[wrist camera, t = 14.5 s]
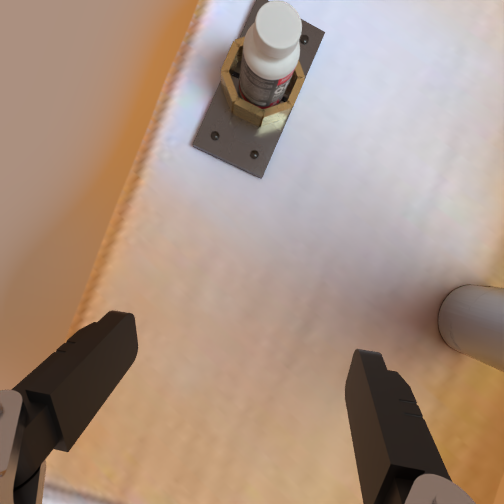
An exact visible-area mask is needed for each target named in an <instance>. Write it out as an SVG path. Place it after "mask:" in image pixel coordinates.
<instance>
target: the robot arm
mask: <svg viewBox="0 0 504 504" xmlns="http://www.w3.org/2000/svg"><path fill="white" fill-rule="evenodd" d="M438 324H439V330H440V333H441V335H442V338H443V339H444V340H445V342H446V343H447V344H448V345H449V346H450V347H451V348H453V349H455V350H456V351H459V352H461V353H463V354H465V355H467V356H470V357H472V358H474V359H476V360H479V361H481V362H483V363H485V364H487V365H489V366H492V367H494V368H496V369H498V370H500V371H503V372H504V288H499V287H484V286H477V285H465V286H462V287H459V288H457V289H455V290H454V291H452V292H451V293H450V294H449V295H448V296H447V297H446V299H445V300H444V302H443V304H442V306H441V308H440V312H439V318H438ZM137 352H138V340H137V332H136V324H135V317H134V315H133V314H132V313H126V312H120V311H110V312H108V313H107V314H106V315H105V316H104V317H103V318H102V319H100V320H99V321H98V322H93V323H91V324H89V325H88V326H86V327H84V328H82V329H80V330H78V331H77V332H76V333H75V334H74V335H73V336H72V337H71V338H69V339H68V340H67V342H66V343H64V344H63V345H62V346H60V347H59V348H58V349H57V351H56V352H54V353H52V354H51V355H50V356H49V357H48V358H47V359H46V360H45V361H43V363H41V364H40V365H39V366H38V367H37V368H36V369H34V370H33V371H32V372H31V373H30V374H29V375H28V376H27V377H25V378H24V379H23V380H22V381H21V382H20V383H19V384H17V385H16V386H15V387H14V388H13V389H12V390H1V391H0V504H42V498H43V489H44V480H45V472H46V460H45V459H46V457H47V456H48V455H49V454H50V452H51V451H52V450H53V449H56V450H61V451H65V452H69V450H70V449H71V448H72V446H73V445H74V444H75V442H76V441H77V439H78V438H79V437H80V435H81V434H82V433H83V431H84V430H85V428H86V427H87V426H88V424H89V423H90V422H91V420H92V419H93V417H94V416H95V415H96V413H97V412H98V411H99V409H100V408H101V406H102V405H103V404H104V402H105V401H106V400H107V398H108V397H109V395H110V394H111V393H112V391H113V390H114V389H115V387H116V386H117V384H118V383H119V382H120V380H121V379H122V378H123V376H124V375H125V373H126V372H127V371H128V369H129V368H130V367H131V365H132V364H133V362H134V360H135V358H136V356H137ZM345 401H346V407H347V412H348V418H349V424H350V429H351V435H352V441H353V446H354V452H355V458H356V464H357V469H358V475H359V481H360V486H361V492H362V498H363V503H364V504H476V503H475V502H474V501H473V500H472V499H471V498H470V496H469V495H468V494H467V493H466V492H465V491H463V490H462V489H461V488H460V487H459V486H457V485H456V484H454V483H453V482H452V480H451V478H450V476H449V474H448V472H447V470H446V468H445V465H444V463H443V461H442V458H441V456H440V454H439V452H438V449H437V447H436V445H435V443H434V440H433V438H432V436H431V434H430V431H429V429H428V427H427V424H426V422H425V420H424V419H423V418H422V416H423V415H422V413H421V411H420V409H419V406H418V405H417V404H416V403H417V402H416V400H415V397H414V395H413V393H412V391H411V388H410V386H409V385H408V384H407V383H406V382H405V380H404V379H403V378H402V377H401V376H400V375H399V374H398V372H395V371H389V370H387V368H386V365H385V362H384V360H383V357H382V355H381V353H379V352H373V351H367V350H360V349H356V350H355V352H354V354H353V358H352V362H351V365H350V369H349V373H348V377H347V380H346V386H345Z"/></svg>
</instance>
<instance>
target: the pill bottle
mask: <svg viewBox="0 0 504 504" xmlns="http://www.w3.org/2000/svg"><path fill="white" fill-rule="evenodd" d="M301 32H302V22H301V19H300V16H299V14H298V12H297V11H296V10H295V9H294V8H293V7H292V6H291V5H290V4H288V3H286V2H283V1H270V2H268V3H266V4H264V5H263V6H262V7H261V8H260V9H259V11H258V13H257V15H256V19H255V23H253V24H252V25H251V27H250V28H249V29H248V31H247V33H246V35H245V39H244V44H243V52H242V61H241V68H240V77H239V92H240V95H241V98H242V99H243V100H245V101H247V102H249V103H251V104H253V105H255V106H257V107H259V108H261V109H263V110H264V109H267V108H269V107H272V106H275V105H278V104H279V102H280V101H281V99H282V97H283V95H284V93H285V91H286V88H287V86H288V84H289V81H290V79H291V77H292V74H293V72H294V70H295V68H296V66H297V63H298V60H299V56H300V44H299V39H300V36H301Z"/></svg>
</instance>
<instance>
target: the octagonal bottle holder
mask: <svg viewBox="0 0 504 504" xmlns="http://www.w3.org/2000/svg"><path fill="white" fill-rule="evenodd" d="M268 2H270V1H268V0H256V2H255V4H254V6H253V9H252V11H251V13H250V16H249V18H248V20H247V22H246V25H245V27H244V29H243V31H242V34H241V36H240V38H239V39H236V40H235V42H234V41H233V43H232V45H231V48H230V50H229V52H228V55H227V57H226V59H225V61H224V64H223V66H222V68H221V82H220V84H219V86H218V88H217V91H216V93H215V95H214V97H213V100H212V102H211V104H210V107H209V109H208V111H207V113H206V116H205V118H204V120H203V122H202V125H201V127H200V129H199V132H198V134H197V136H196V138H195V141H194V143H193V147H195V148H197V149H199V150H201V151H203V152H206V153H208V154H210V155H212V156H214V157H216V158H218V159H220V160H223V161H225V162H227V163H229V164H231V165H233V166H235V167H237V168H240V169H242V170H244V171H246V172H248V173H250V174H252V175H254V176H257V177H259V178H261V179H262V177H263V175H264V172H265V170H266V168H267V165H268V163H269V161H270V158H271V156H272V154H273V152H274V149H275V147H276V145H277V142H278V140H279V138H280V135H281V133H282V131H283V128H284V126H285V124H286V122H287V119H288V117H289V115H290V112H291V110H292V108H293V106H294V103H295V101H296V99H297V96H298V94H299V92H300V89H301V87H302V85H303V83H304V80H305V78H306V75H307V73H308V71H309V68H310V66H311V64H312V61H313V59H314V57H315V55H316V52H317V50H318V48H319V45H320V43H321V41H322V38H323V36H324V34H325V32H324V31H322V30H320V29H318V28H316V27H315V26H313V25H311V24H309V23H307V22H306V21H304V20H302V19H301V22H302V32H301V36H300V39H299V44H300V56H299V60H298V63H297V66H296V68H295V70H294V72H293V74H292V77H291V79H290V81H289V84H288V86H287V88H286V91H285V93H284V95H283V97H282V100H284V101H286V102H283V101H280V102H279V104H278V105H275V106H272V107H269V108H267V109H264V110H263V109H261V108H259V107H257V106H255V105H253V104H251V103H249V102H247V101H245V100H243V99H242V98H241V95H240V92H239V79H238V78H236V77H234V76H232V74H233V75H235V76H237V77H240V68H241V61H242V52H243V44H244V39H245V35H246V33H247V31H248V29H249V28H250V27H251V25H252V24H253V23H255V19H256V15H257V13H258V11H259V9H260V8H261V7H262V6H263V5H264V4H266V3H268Z"/></svg>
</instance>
